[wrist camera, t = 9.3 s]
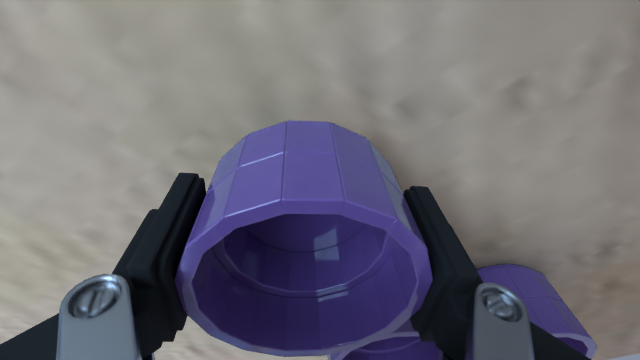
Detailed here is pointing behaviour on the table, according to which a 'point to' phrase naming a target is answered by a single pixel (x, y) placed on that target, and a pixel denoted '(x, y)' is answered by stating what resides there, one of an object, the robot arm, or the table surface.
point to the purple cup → (541, 304)
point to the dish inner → (303, 245)
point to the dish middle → (393, 347)
